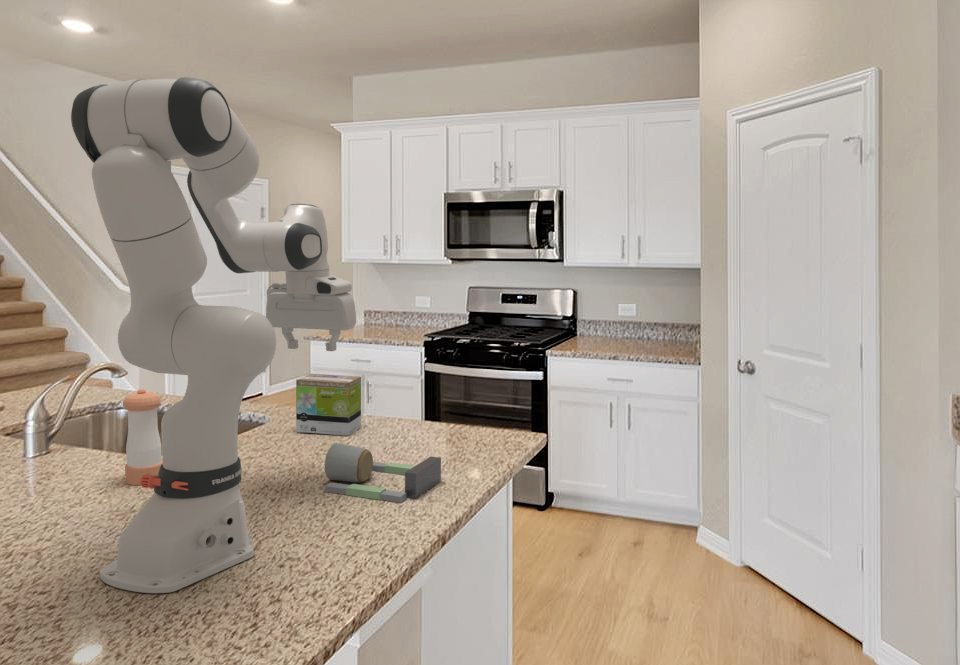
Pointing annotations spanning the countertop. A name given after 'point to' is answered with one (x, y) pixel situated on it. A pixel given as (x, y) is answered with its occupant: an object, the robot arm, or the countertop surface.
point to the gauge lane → (373, 491)
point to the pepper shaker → (142, 436)
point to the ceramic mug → (348, 463)
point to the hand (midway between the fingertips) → (312, 349)
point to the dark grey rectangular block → (422, 477)
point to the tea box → (328, 404)
